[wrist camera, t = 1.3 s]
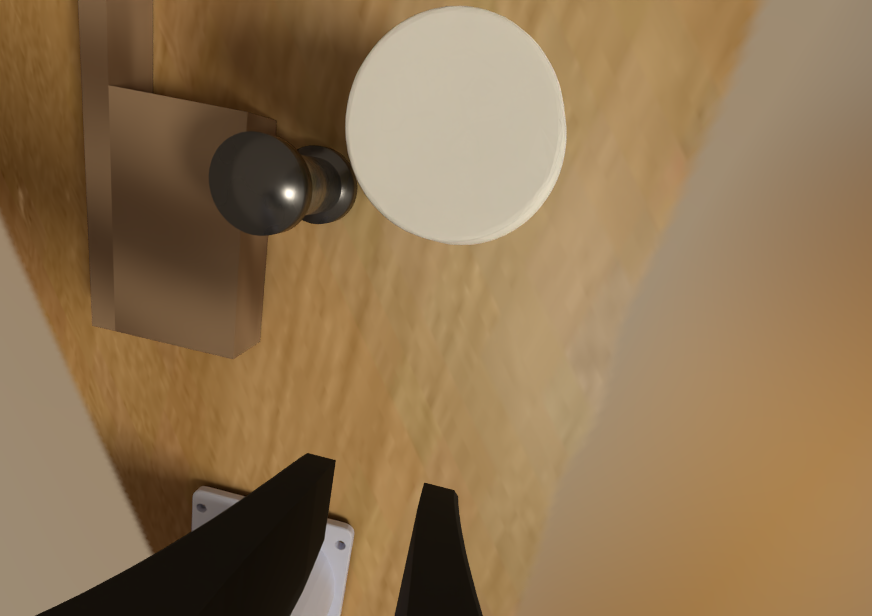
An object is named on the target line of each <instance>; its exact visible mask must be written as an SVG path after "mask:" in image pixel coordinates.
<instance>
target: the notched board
mask: <svg viewBox="0 0 872 616" xmlns="http://www.w3.org/2000/svg"><path fill="white" fill-rule="evenodd" d="M78 11H79V34H80V57H81V80H82V102H83V125H84V148H85V171H86V194H87V217H88V239H89V262H90V285H91V308H92V326H96V327H100V328H104V329H109V330H113V331H117V332H121V333H125V334H130V335H134V336H138V337H142V338H146V339H151V340H155V341H159V342H163V343H167V344H172V345H176V346H180V347H184V348H188V349H192V350H197V351H201V352H205V353H209V354H213V355H218V356H222V357H226V358H230V359H234V358H236V357H237V356H239V355H240V354H242V353H244V352H245V351H247V350H248V349H250V348H251V347H253V346H254V345H256V344H257V343H259V342H260V334H261V321H262V308H263V294H264V281H265V268H266V255H267V242H268V235H267V236H256V235H251V234H247V233H245V232H242V231H240V230H239V229H237V228H235V227H234V226H232V225H231V224H230V223H229V222H228V221H227V220H226V219H225V218H224V217H223V216H222V215H221V213H220V212H219V210H218V209H217V207H216V205H215V203H214V201H213V198H212V196H211V192H210V187H209V168H210V164H211V160H212V158H213V155H214V154H215V152H216V150H217V149H218V147H219V146H220V145H221V144H222V143H223V142H224V141H225V140H226V139H228V138H229V137H231V136H233V135H235V134H238V133H241V132H246V131H254V132H261V133H265V134H270V135H273V136H276V123H277V121H276V120H273V119H269V118H266V117H263V116H259V115H256V114H253V113H249V112H245V111H240V110H235V109H230V108H224V107H219V106H214V105H209V104H204V103H198V102H193V101H188V100H183V99H178V98H172V97H167V96H162V95H157V94H153V0H78Z"/></svg>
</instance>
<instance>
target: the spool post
mask: <svg viewBox="0 0 872 616" xmlns="http://www.w3.org/2000/svg"><path fill="white" fill-rule="evenodd" d="M209 187H210V192H211V196H212V198H213V201H214V203H215V205H216V207H217V209H218V210H219V212H220V213H221V215H222V216H223V217H224V218H225V219H226V220H227V221H228V222H229V223H230V224H231V225H232V226H234V227H235V228H237V229H239V230H240V231H242V232H245V233H247V234H251V235H256V236H267V235H273V234H278V233H282V232H285V231H288V230H290V229H292V228H293V227H295V226H296V225H297V224H298V223H300V221H301V220H303V221H306V222H309V223H313V224H324V223H330V222H333V221H336V220H339V219H340V218H342V217H344V216H345V215H346V214H347V213H348V212H349V211H350V209H351V208H352V206H353V204H354V202H355V199H356V195H357V180H356V176H355V174H354V171H353V168H352V167H351V165H350V163H349V162H348V161H347V160H346V159H345V158H344V157H343V156H342V155H341V154H340V153H338V152H336V151H335V150H332V149H329V148H326V147H321V146H305V147H302V148H300V149H298V150H296V149H295V148H294V147H293V146H292V145H291V144H290V143H288V142H287V141H285V140H283V139H282V138H279V137H277V136H273V135H270V134H265V133H261V132H254V131H246V132H241V133H238V134H235V135H233V136H231V137H229V138H228V139H226V140H225V141H224V142H223V143H222V144H221V145H220V146H219V147H218V149H217V150H216V152H215V154H214V155H213V158H212V160H211V164H210V168H209Z"/></svg>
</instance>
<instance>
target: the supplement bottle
mask: <svg viewBox="0 0 872 616" xmlns="http://www.w3.org/2000/svg"><path fill="white" fill-rule="evenodd" d="M345 133H346V144H347V150H348V155H349V159H350V162H351V165H352V168H353V171H354V174H355V176H356V179H357V181H358V183H359V184H360V186H361V188H362V190H363V191H364V193H365V195H366V196H367V197H368V199H369V200H370V202H371V203H372V204H373V205H374V206H375V207H376V208H377V209H378V211H379V212H380V213H381V214H382V215H384V216H385V217H386V218H387V219H388V220H390V221H391V222H392V223H393V224H395V225H397V226H398V227H400V228H402V229H403V230H405V231H407V232H409V233H412V234H414V235H417V236H419V237H422V238H425V239H429V240H433V241H437V242H441V243H445V244H453V245H471V244H479V243H484V242H488V241H491V240H494V239H497V238H499V237H502V236H504V235H506V234H508V233H510V232H512V231H513V230H515V229H517V228H518V227H520V226H521V225H522V224H524V223H525V222H526V221H527V220H528V219H530V218H531V217H532V216H533V215H534V214H535V213H536V212H537V210H538V209H539V208H540V207H541V206H542V204H543V203H544V202H545V200H546V199H547V197H548V196H549V194H550V193H551V191H552V189H553V187H554V185H555V183H556V181H557V179H558V176H559V173H560V171H561V167H562V164H563V159H564V155H565V148H566V120H565V113H564V103H563V98H562V93H561V89H560V85H559V82H558V79H557V76H556V74H555V71H554V69H553V67H552V65H551V63H550V62H549V60H548V58H547V57H546V55H545V53H544V52H543V50H542V49H541V48H540V46H539V45H538V44H537V43H536V42H535V40H534V39H533V38H532V37H531V36H530V35H529V34H527V33H526V32H525V31H524V30H523V29H521V28H520V27H519V26H518V25H516V24H515V23H514V22H512V21H510V20H509V19H507V18H505V17H504V16H501V15H499V14H496V13H494V12H491V11H488V10H485V9H481V8H476V7H470V6H446V7H441V8H435V9H431V10H428V11H424V12H421V13H419V14H416V15H414V16H412V17H410V18H408V19H406V20H405V21H403V22H401V23H400V24H398V25H397V26H395V27H394V28H393V29H391V30H390V31H389V32H388V33H386V34H385V35H384V36H383V37H382V38H381V39H380V40H379V41H378V42H377V44H376V45H375V46H374V47H373V49H372V50H371V51H370V53H369V54H368V56H367V57H366V58H365V60H364V61H363V63H362V65H361V67H360V68H359V70H358V72H357V74H356V77H355V79H354V82H353V85H352V88H351V91H350V94H349V99H348V103H347V110H346V121H345Z"/></svg>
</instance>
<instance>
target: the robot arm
mask: <svg viewBox="0 0 872 616" xmlns="http://www.w3.org/2000/svg"><path fill="white" fill-rule="evenodd" d="M335 462H336V460H333V459H329V458H325V457H321V456H317V455H313V454H309V453H307V454H305V455H304V456H302V457H300V458H299V459H298V460H296V461H295V462H293V463H292V464H291V465H289V466H288V467H286V468H285V469H284V470H282V471H281V472H280V473H278V474H277V475H275V476H274V477H273V478H271V479H270V480H268V481H267V482H266V483H264V484H263V485H261V486H260V487H258V488H257V489H256V490H254V491H253V492H251V493H250V494H248V495H247V496H242V495H238V494H234V493H230V492H226V491H223V490H219V489H215V488H211V487H207V486H201V487H199V488H198V489H197V490H196V491H195V492H194V493H193V502H192V532H190V533H188V534H187V535H185V536H183V537H182V538H180V539H179V540H177V541H175V542H174V543H172V544H170V545H169V546H167V547H166V548H164V549H162V550H161V551H159V552H157V553H155V554H154V555H152V556H150V557H148V558H147V559H145V560H143V561H142V562H140V563H138V564H136V565H134V566H133V567H131V568H129V569H127V570H125V571H123V572H122V573H120V574H118V575H116V576H114V577H112V578H110V579H109V580H107V581H105V582H103V583H101V584H99V585H97V586H95V587H93V588H91V589H89V590H88V591H86V592H84V593H82V594H80V595H78V596H76V597H74V598H72V599H69V600H67V601H66V602H63V603H61V604H59V605H57V606H55V607H53V608H51V609H49V610H46V611H44V612H42V613H40V614H38V615H36V616H341V610H342V604H343V598H344V592H345V586H346V580H347V574H348V568H349V562H350V556H351V550H352V544H353V538H354V530H353V528H352V527H351V526H350V525H349V524H347V523H344V522H340V521H337V520H333V519H329V518H328V511H329V504H330V497H331V490H332V483H333V476H334V469H335ZM204 505H205V506H204ZM340 541H342V542H344V543H341V542H340ZM395 616H483V615H482V611H481V608H480V605H479V601H478V598H477V594H476V590H475V586H474V582H473V579H472V575H471V571H470V567H469V563H468V559H467V554H466V550H465V545H464V540H463V535H462V529H461V523H460V516H459V506H458V496H457V494H456V492H455V491H454V490H451V489H447V488H444V487H440V486H436V485H432V484H428V483H424V486H423V489H422V493H421V497H420V501H419V505H418V509H417V514H416V518H415V523H414V528H413V532H412V537H411V542H410V546H409V551H408V556H407V560H406V565H405V570H404V574H403V579H402V584H401V588H400V593H399V598H398V602H397V607H396V612H395Z"/></svg>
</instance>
